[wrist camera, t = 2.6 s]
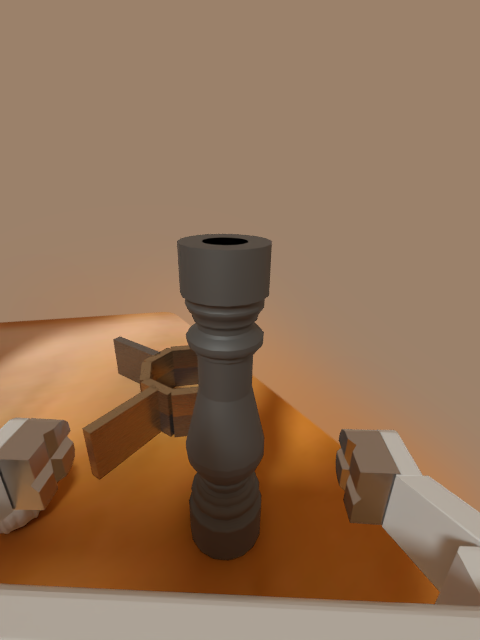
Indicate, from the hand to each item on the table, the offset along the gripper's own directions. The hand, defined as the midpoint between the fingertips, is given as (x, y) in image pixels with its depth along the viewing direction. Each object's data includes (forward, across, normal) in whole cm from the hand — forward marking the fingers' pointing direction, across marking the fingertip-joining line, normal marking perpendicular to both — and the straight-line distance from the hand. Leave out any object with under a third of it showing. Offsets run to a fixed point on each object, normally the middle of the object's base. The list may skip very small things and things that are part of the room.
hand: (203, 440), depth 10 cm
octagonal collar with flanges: (+28, -12, -21) cm, 37 cm away
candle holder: (+12, 0, -21) cm, 25 cm away
